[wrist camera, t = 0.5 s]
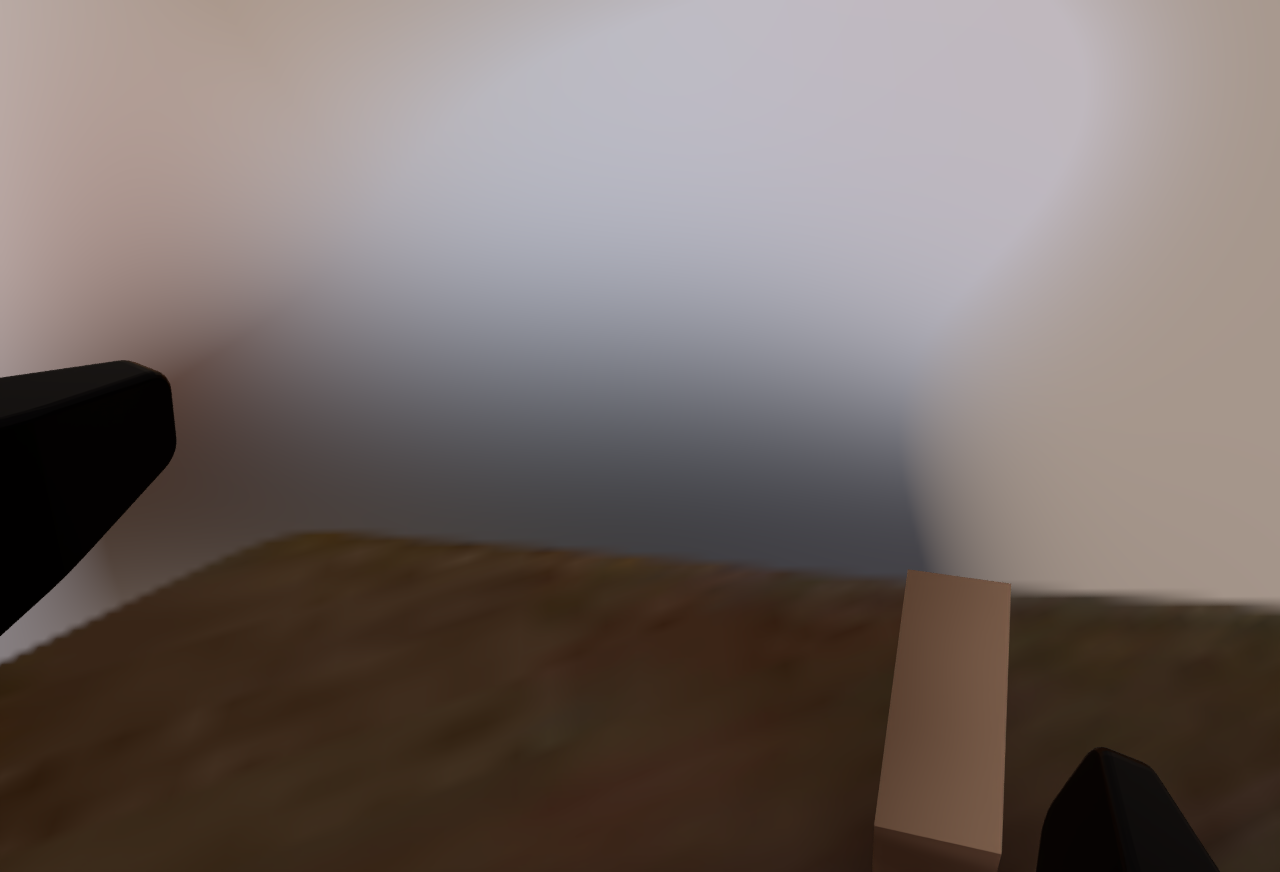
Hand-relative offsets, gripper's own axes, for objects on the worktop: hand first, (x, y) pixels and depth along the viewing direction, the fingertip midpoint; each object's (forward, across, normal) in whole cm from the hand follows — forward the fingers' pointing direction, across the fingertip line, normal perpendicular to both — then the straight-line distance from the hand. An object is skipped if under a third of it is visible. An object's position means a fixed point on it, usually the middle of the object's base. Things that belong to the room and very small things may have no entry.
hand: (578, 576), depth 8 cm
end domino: (+9, -8, +15) cm, 19 cm away
